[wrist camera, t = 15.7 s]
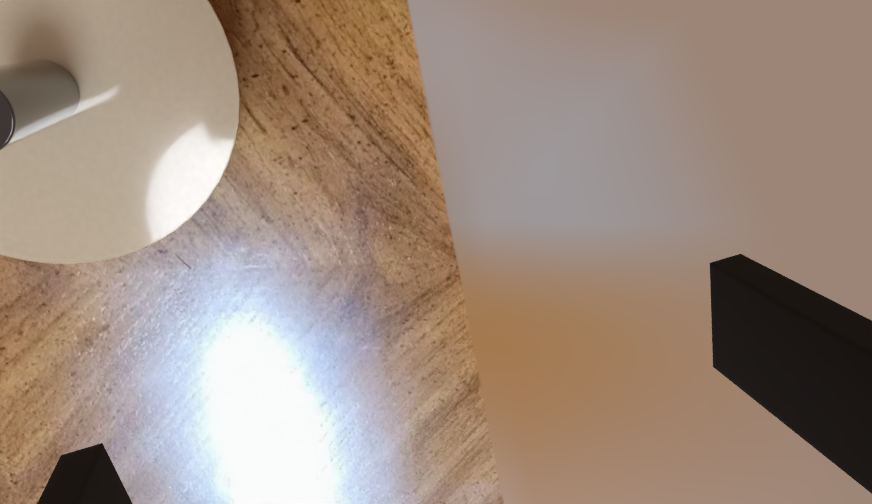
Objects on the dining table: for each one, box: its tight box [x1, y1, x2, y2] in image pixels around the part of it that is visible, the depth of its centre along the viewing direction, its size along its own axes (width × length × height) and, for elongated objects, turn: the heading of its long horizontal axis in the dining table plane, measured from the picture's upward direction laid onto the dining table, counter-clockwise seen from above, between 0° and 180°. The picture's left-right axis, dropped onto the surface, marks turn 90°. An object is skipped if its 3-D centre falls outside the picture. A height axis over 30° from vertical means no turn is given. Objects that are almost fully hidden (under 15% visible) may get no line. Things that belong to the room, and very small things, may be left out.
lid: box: [0, 0, 240, 264], centre depth 26 cm, size 17×17×9 cm
